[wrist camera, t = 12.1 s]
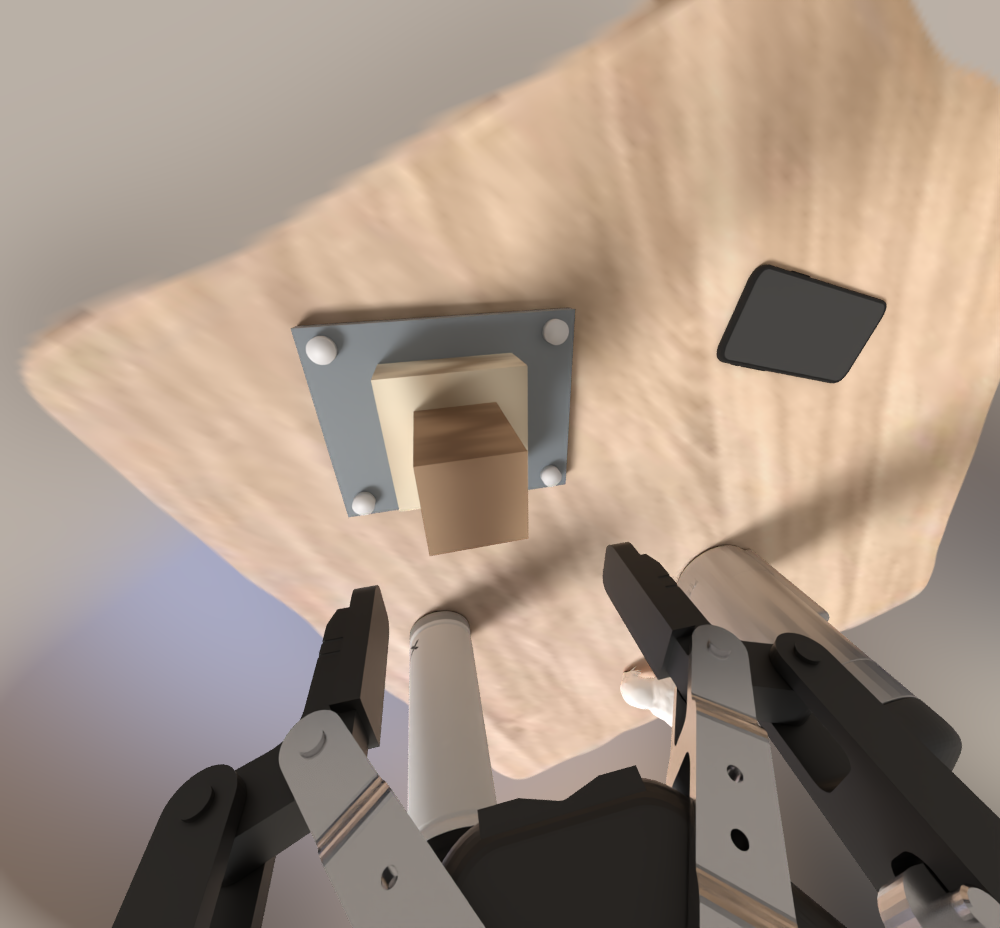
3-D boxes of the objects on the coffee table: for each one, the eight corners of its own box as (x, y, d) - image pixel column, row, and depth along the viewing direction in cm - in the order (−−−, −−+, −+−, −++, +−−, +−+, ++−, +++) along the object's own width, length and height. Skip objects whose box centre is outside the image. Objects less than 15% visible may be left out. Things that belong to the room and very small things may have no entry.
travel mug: (396, 626, 36) (379, 945, 19) (455, 601, 36) (492, 895, 19) (422, 658, 39) (428, 956, 22) (477, 635, 40) (526, 914, 22)
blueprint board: (568, 307, 25) (579, 310, 23) (560, 477, 32) (568, 488, 30) (296, 326, 22) (286, 330, 20) (350, 508, 29) (346, 523, 27)
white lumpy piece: (714, 747, 47) (631, 749, 44) (677, 682, 54) (605, 681, 52) (737, 719, 44) (651, 720, 42) (696, 655, 51) (620, 652, 49)
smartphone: (841, 386, 33) (716, 362, 29) (831, 383, 34) (708, 359, 30) (893, 301, 30) (762, 260, 26) (881, 300, 31) (752, 260, 27)
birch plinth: (511, 352, 25) (527, 365, 21) (514, 466, 29) (528, 492, 25) (377, 364, 23) (370, 380, 20) (401, 481, 27) (399, 512, 24)
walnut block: (496, 401, 22) (527, 451, 16) (500, 472, 24) (528, 538, 18) (413, 411, 21) (413, 467, 15) (425, 483, 23) (429, 556, 17)
